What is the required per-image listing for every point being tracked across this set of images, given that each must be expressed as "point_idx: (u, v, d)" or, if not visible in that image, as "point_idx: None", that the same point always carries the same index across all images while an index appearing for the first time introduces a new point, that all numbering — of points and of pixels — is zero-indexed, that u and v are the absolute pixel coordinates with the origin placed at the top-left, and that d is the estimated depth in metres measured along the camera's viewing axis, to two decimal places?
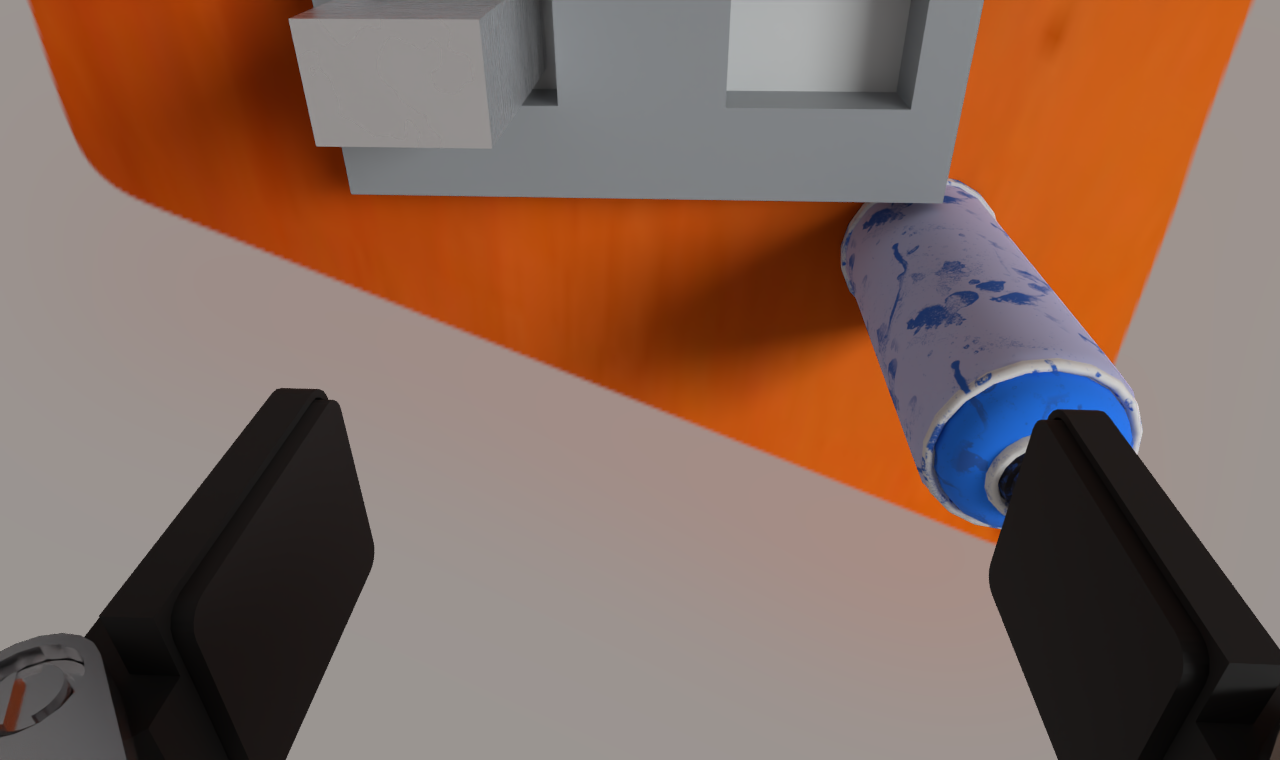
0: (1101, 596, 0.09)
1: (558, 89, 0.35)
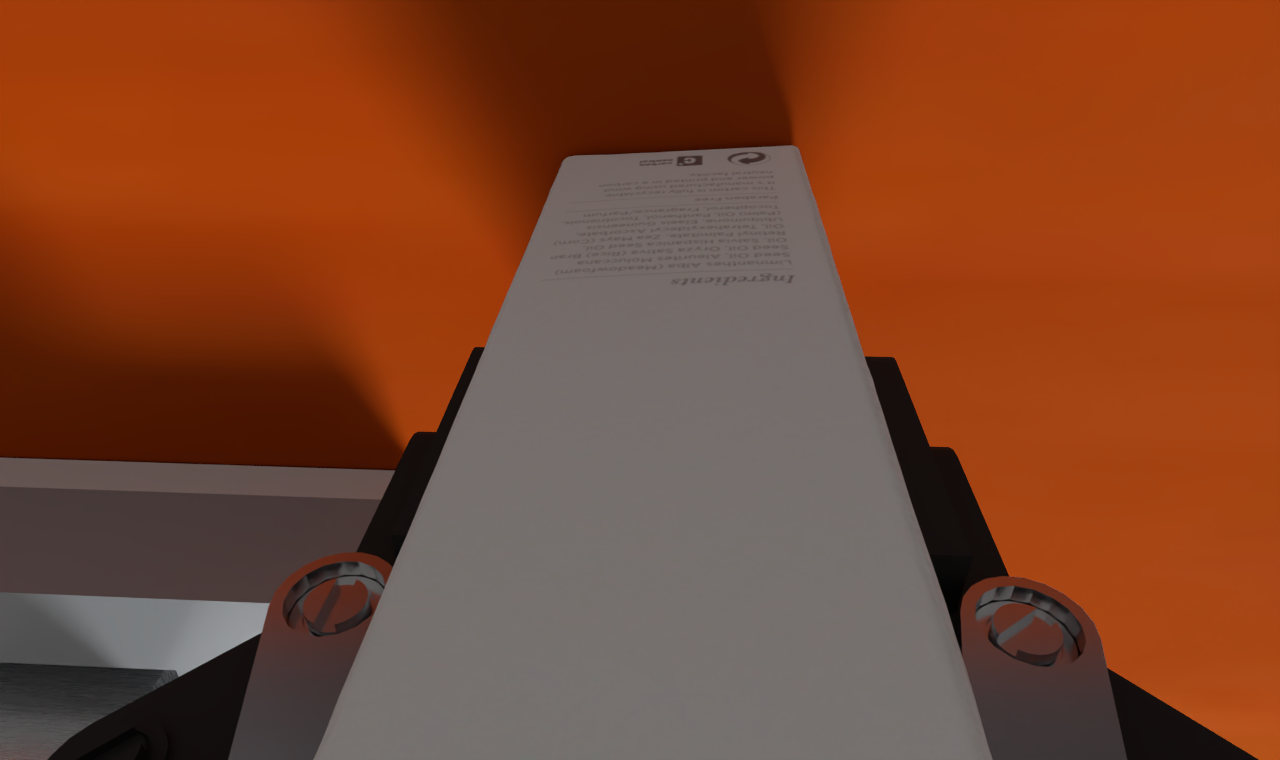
0: None
1: None
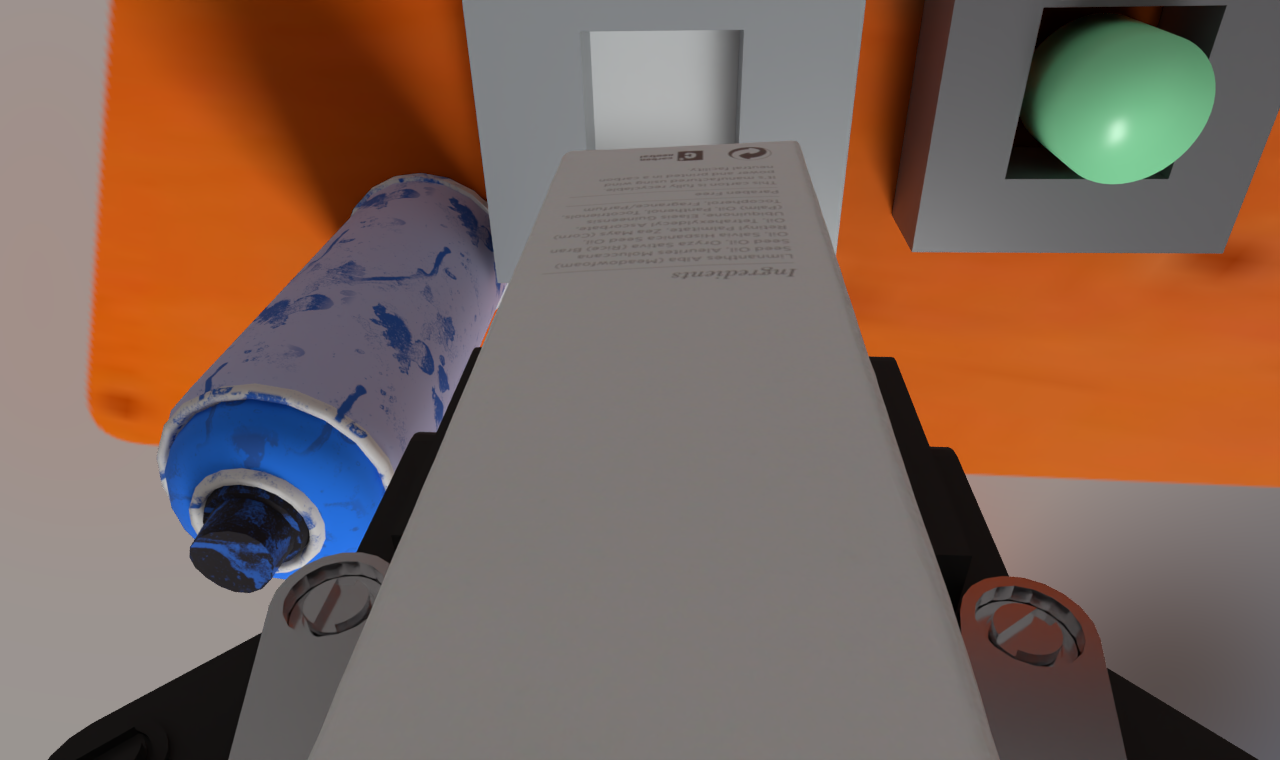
0: None
1: None
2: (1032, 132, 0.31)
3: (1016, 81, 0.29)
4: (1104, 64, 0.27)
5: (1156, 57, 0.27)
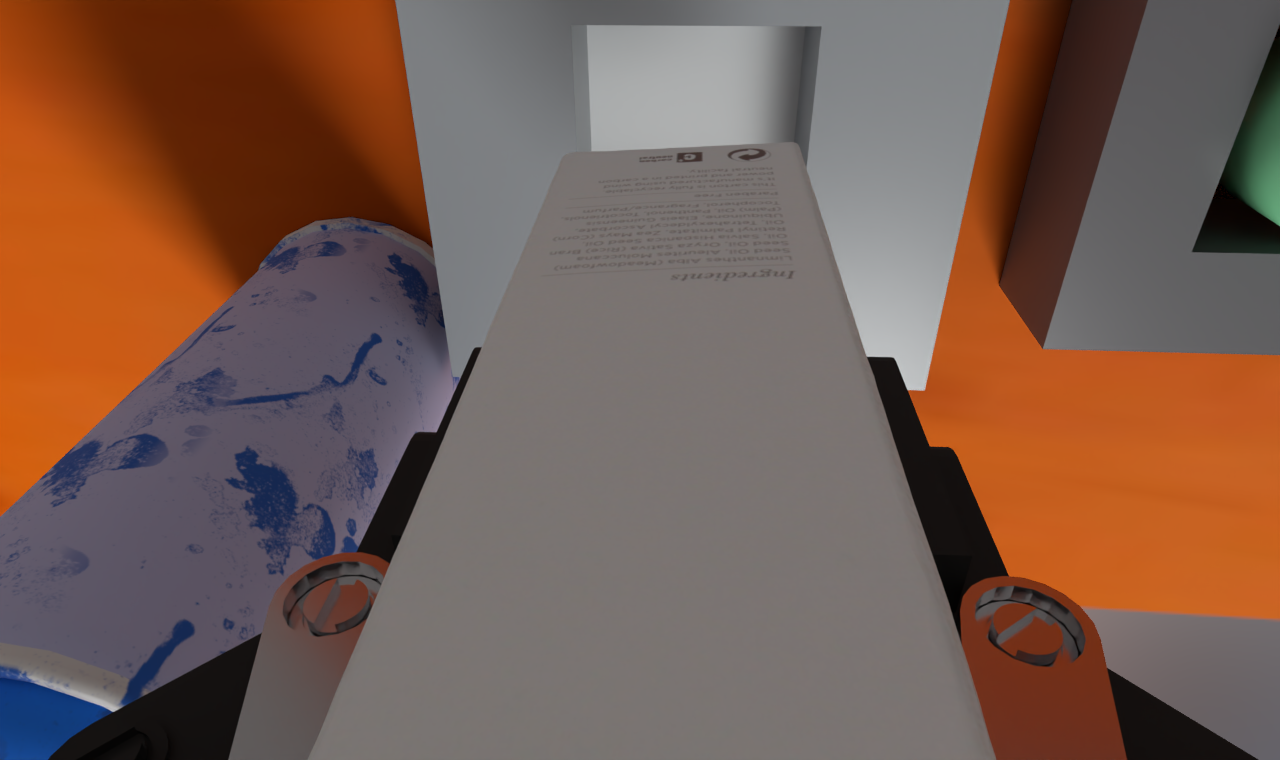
0: None
1: None
2: (1233, 184, 0.21)
3: (1230, 111, 0.19)
4: None
5: None
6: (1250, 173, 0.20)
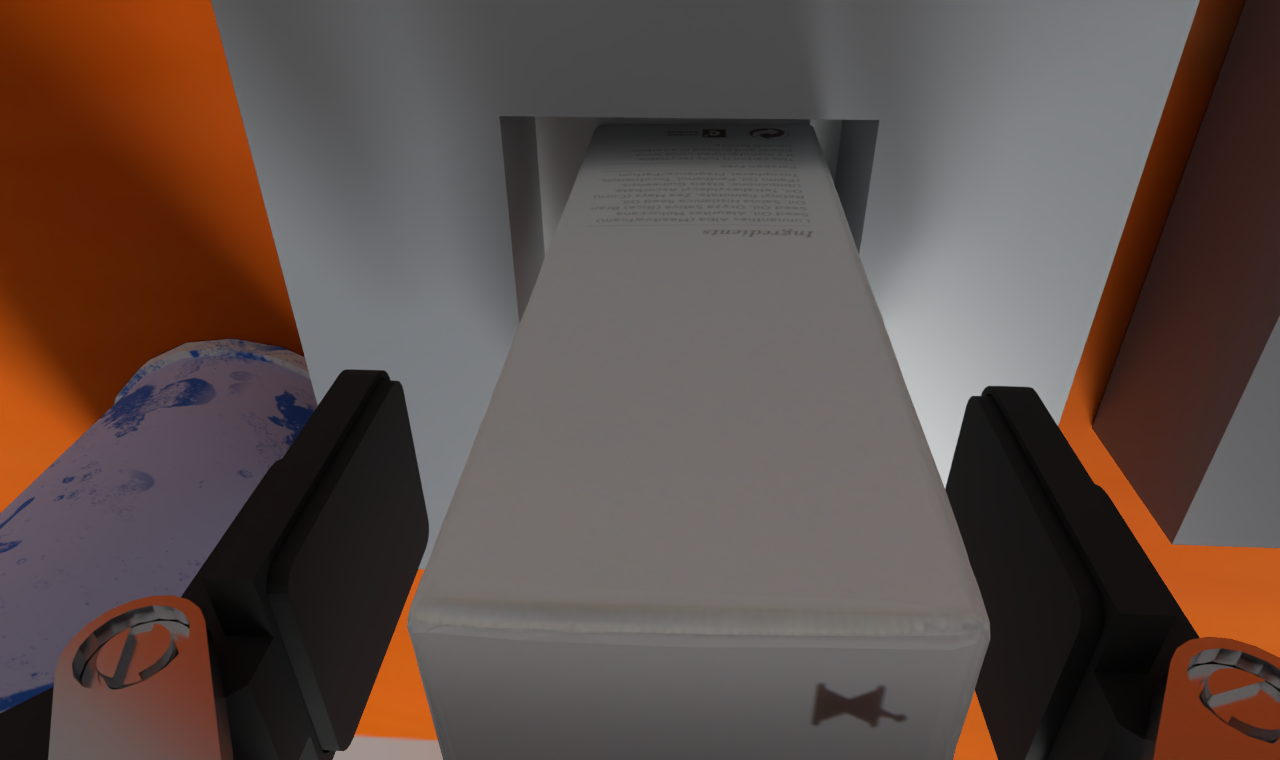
0: (1018, 559, 0.09)
1: None
2: None
3: None
4: None
5: None
6: None
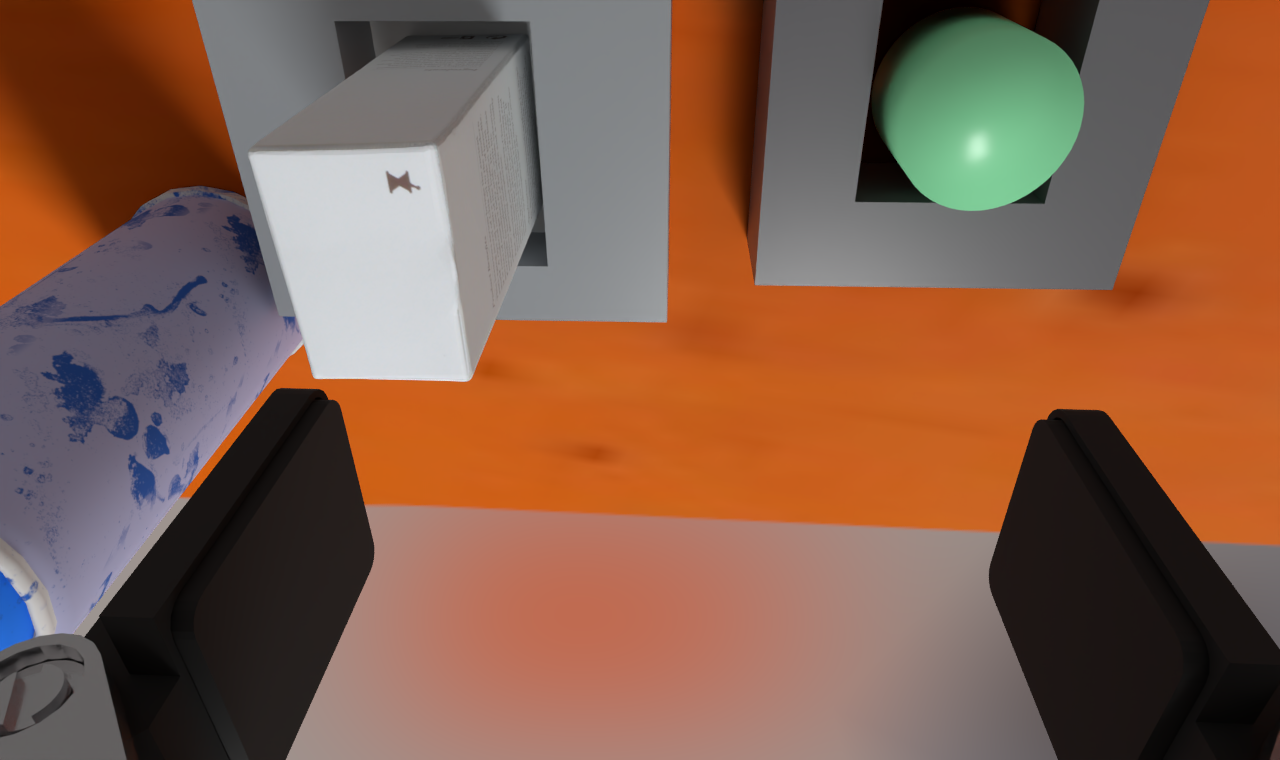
0: (1101, 596, 0.09)
1: None
2: None
3: (858, 87, 0.25)
4: (949, 67, 0.22)
5: (1011, 60, 0.22)
6: (886, 137, 0.25)
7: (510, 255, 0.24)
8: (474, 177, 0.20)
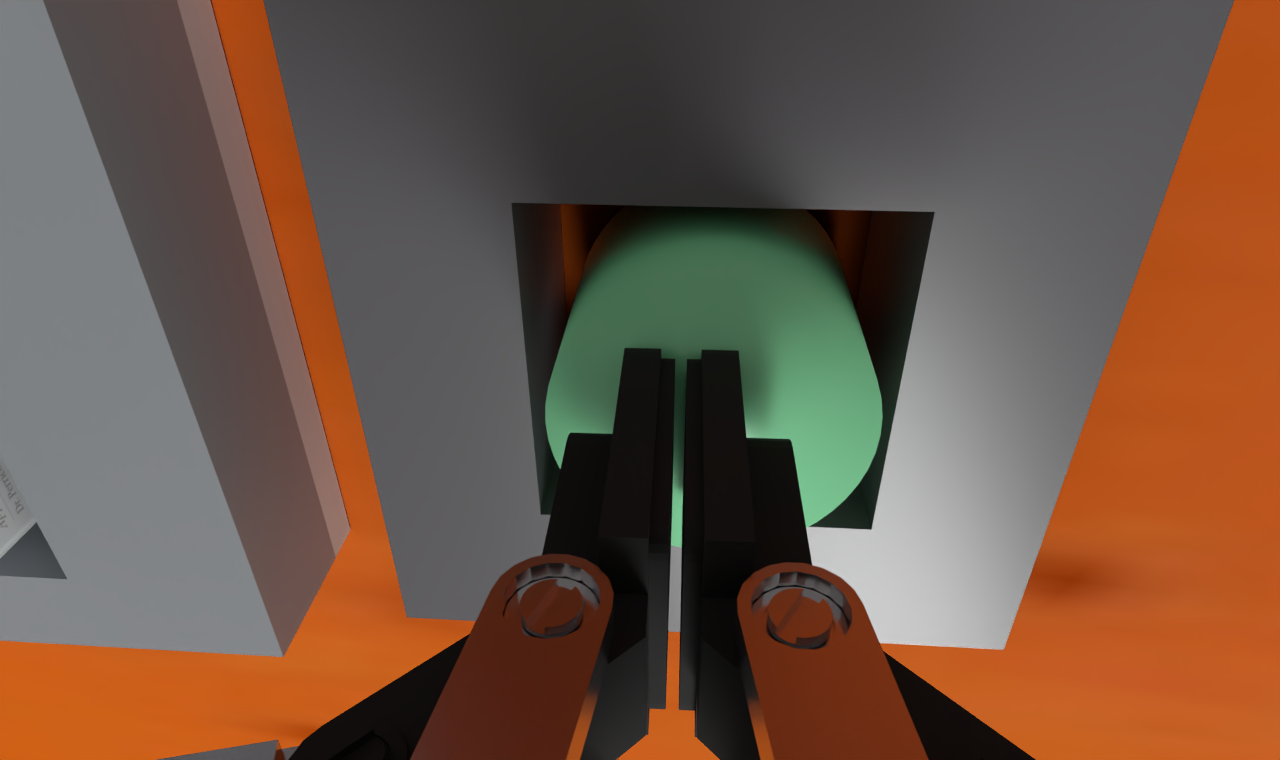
0: None
1: None
2: None
3: (501, 346, 0.13)
4: (613, 333, 0.12)
5: (729, 326, 0.11)
6: None
7: None
8: None
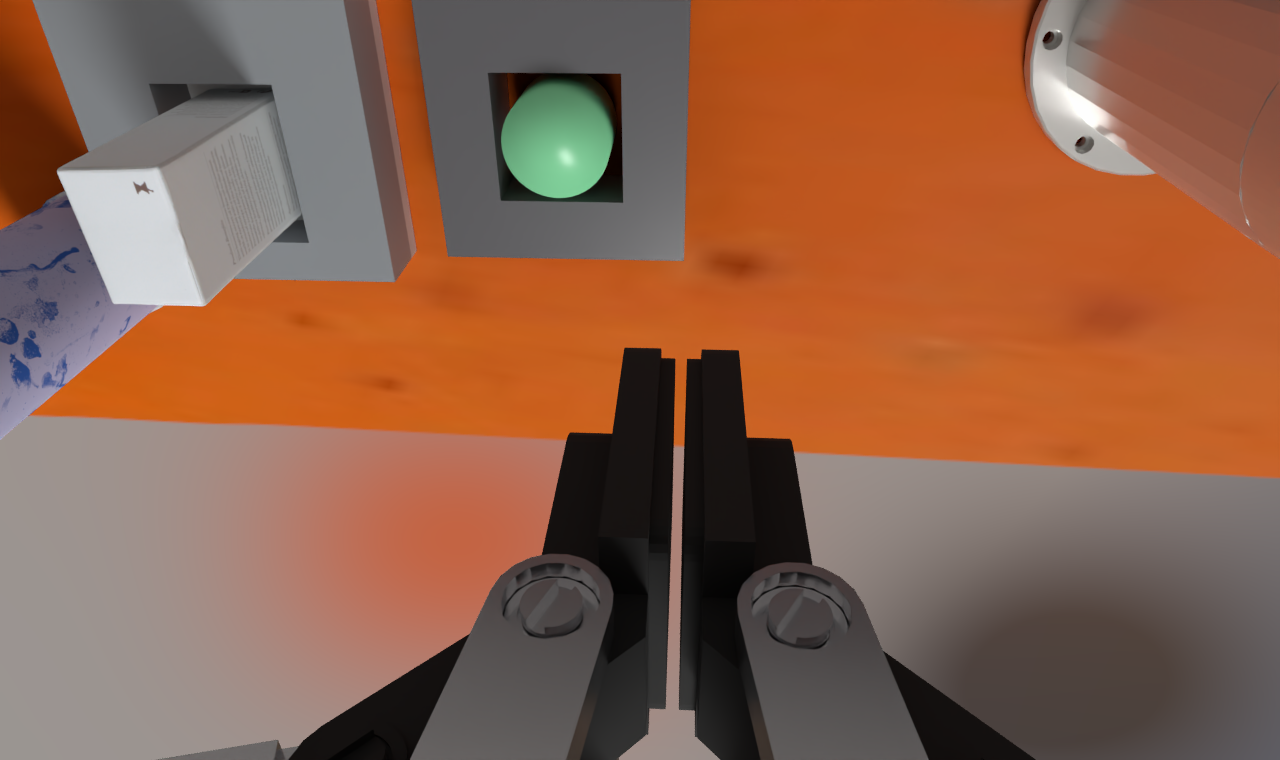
0: (683, 503, 0.10)
1: None
2: None
3: (485, 126, 0.38)
4: (522, 110, 0.37)
5: (557, 106, 0.37)
6: None
7: (259, 233, 0.38)
8: (206, 184, 0.34)
